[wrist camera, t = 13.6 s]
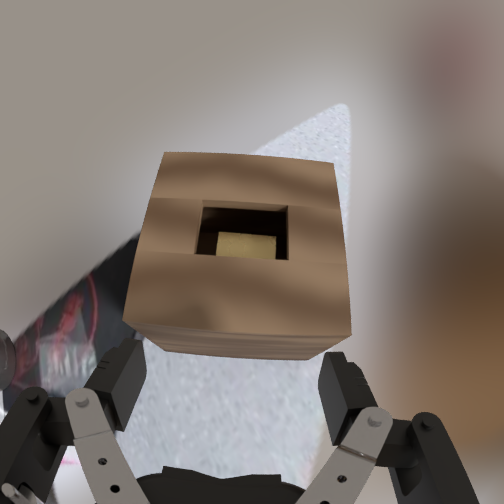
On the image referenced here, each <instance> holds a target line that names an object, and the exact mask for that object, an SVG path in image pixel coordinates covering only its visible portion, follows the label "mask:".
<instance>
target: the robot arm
mask: <svg viewBox="0 0 504 504" xmlns="http://www.w3.org/2000/svg"><path fill="white" fill-rule="evenodd" d="M15 366H16V356H15V350H14V347H13V343H12V341H11V339H10V338H9V337H8V335H7V334H6V333H5V332H4V331H2V330H0V391H2V390H4V389H5V388H7V387H8V386H9V384H10V383H11V381H12V379H13V376H14V372H15ZM146 372H147V369H146V362H145V356H144V349H143V343H142V341H141V340H135V339H128V338H125V339H124V340H123V341H122V343H121V345H120V346H119V348H115V347H113V348H112V349H110V350H109V351H107V352H106V353H105V354H104V356H103V357H102V359H101V362H99V364H98V365H97V368H95V370H94V371H93V373H92V375H91V376H90V378H89V379H88V381H87V383H86V384H85V386H84V387H83V388H78V389H75V390H73V391H71V392H70V393H69V394H68V395H67V396H66V398H58V397H48V394H47V392H46V391H45V390H44V389H43V388H40V387H30V388H27V389H25V390H24V391H23V392H22V393H21V394H20V395H19V397H18V398H17V400H16V401H15V403H14V404H13V406H12V407H11V409H10V410H9V412H8V413H7V415H6V417H5V418H4V420H3V421H2V423H1V424H0V504H45V503H46V500H47V497H48V494H49V492H50V489H51V486H52V484H53V481H54V478H55V476H56V473H57V471H58V468H59V466H60V463H61V461H62V458H63V456H64V454H65V451H66V449H67V446H75V448H76V451H77V454H78V457H79V460H80V463H81V466H82V469H83V471H84V474H85V476H86V479H87V482H88V484H89V487H90V489H91V491H92V494H93V496H94V499H95V501H96V503H95V504H354V502H355V500H356V499H357V497H358V496H359V494H360V492H361V490H362V488H363V486H364V485H365V483H366V481H367V479H368V477H369V476H370V473H371V472H372V470H373V468H374V466H381V467H388V469H389V472H390V476H391V480H392V483H393V487H394V490H395V494H396V498H397V501H398V504H479V502H478V499H477V497H476V494H475V492H474V489H473V487H472V485H471V483H470V480H469V478H468V476H467V473H466V471H465V469H464V467H463V465H462V462H461V460H460V458H459V456H458V454H457V452H456V450H455V448H454V446H453V443H452V441H451V440H450V437H449V436H448V433H447V431H446V429H445V428H444V426H443V424H442V422H441V420H440V419H439V418H438V417H437V416H436V415H434V414H432V413H428V412H421V413H418V414H416V415H415V416H414V417H413V419H412V421H407V420H397V419H393V418H392V416H391V415H390V414H389V412H387V411H386V410H384V409H382V408H379V407H378V405H377V403H376V401H375V398H374V396H373V394H372V392H371V390H370V387H369V386H368V383H367V381H366V379H365V377H364V375H363V372H362V370H361V369H360V368H359V367H358V366H357V365H356V364H355V363H354V362H347V360H346V357H345V355H344V353H343V352H326V353H325V355H324V358H323V362H322V367H321V371H320V375H319V379H318V390H319V394H320V398H321V402H322V406H323V410H324V414H325V418H326V422H327V425H328V429H329V433H330V437H331V441H332V445H333V446H337V445H338V447H337V448H336V449H335V451H334V452H333V454H332V455H331V457H330V458H329V460H328V461H327V463H326V464H325V465H324V467H323V468H322V469H321V471H320V472H319V474H318V475H317V476H316V478H315V479H314V480H313V482H312V483H311V484H310V486H309V487H308V488H307V490H304V489H302V488H300V487H298V486H296V485H293V484H290V483H286V482H281V474H275V475H256V474H251V475H246V476H239V477H233V478H226V479H219V478H215V477H212V476H209V475H205V474H202V473H199V472H196V471H193V470H187V469H180V468H173V467H167V466H163V470H162V473H156V474H150V475H145V476H142V477H140V478H137V479H135V477H134V475H133V473H132V471H131V469H130V467H129V465H128V464H127V462H126V460H125V458H124V456H123V454H122V451H121V449H120V447H119V445H118V443H117V441H116V439H115V437H114V432H115V430H118V431H122V432H124V431H125V428H126V426H127V423H128V421H129V418H130V416H131V413H132V411H133V408H134V406H135V403H136V401H137V398H138V396H139V393H140V391H141V389H142V386H143V384H144V381H145V379H146Z"/></svg>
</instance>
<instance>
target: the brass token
mask: <svg viewBox="0 0 504 504" xmlns="http://www.w3.org/2000/svg"><path fill="white" fill-rule="evenodd" d="M275 254H276V237H275V236H264V235H252V234H240V233H229V232H219V236H218V243H217V250H216V256H228V257H243V258H259V259H274V260H275Z"/></svg>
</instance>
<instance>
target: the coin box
mask: <svg viewBox="0 0 504 504" xmlns="http://www.w3.org/2000/svg"><path fill="white" fill-rule="evenodd" d="M219 232H229V233H240V234H252V235H264V236H275V237H276V254H275V260H274V259H259V258H243V257H228V256H216V250H217V243H218V236H219ZM122 320H123V321H124V322H126V323H127V324H128V325H130V326H131V327H132V328H134V329H135V330H136V331H138V332H139V333H140V334H142V335H143V336H144V337H146V338H147V339H149V340H150V341H151V342H153V343H154V344H156V345H157V346H159V347H160V348H162V349H163V350H164V351H168V352H177V353H186V354H195V355H206V356H217V357H230V358H246V359H267V360H309V359H311V358H313V357H314V356H316V355H318V354H320V353H322V352H324V351H325V350H327V349H329V348H331V347H332V346H334V345H336V344H338V343H339V342H341V341H343V340H344V339H346V338H348V337H349V336H351V335H352V334H351V314H350V297H349V285H348V272H347V261H346V251H345V242H344V233H343V225H342V217H341V210H340V202H339V196H338V189H337V182H336V176H335V170H334V164H333V163H329V162H321V161H313V160H304V159H294V158H284V157H272V156H260V155H245V154H227V153H201V152H200V153H197V152H164V155H163V158H162V161H161V164H160V167H159V170H158V174H157V177H156V180H155V183H154V187H153V190H152V194H151V197H150V200H149V204H148V207H147V211H146V215H145V218H144V222H143V226H142V230H141V234H140V238H139V242H138V246H137V250H136V254H135V259H134V263H133V268H132V272H131V277H130V282H129V287H128V292H127V297H126V302H125V308H124V314H123V319H122Z"/></svg>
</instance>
